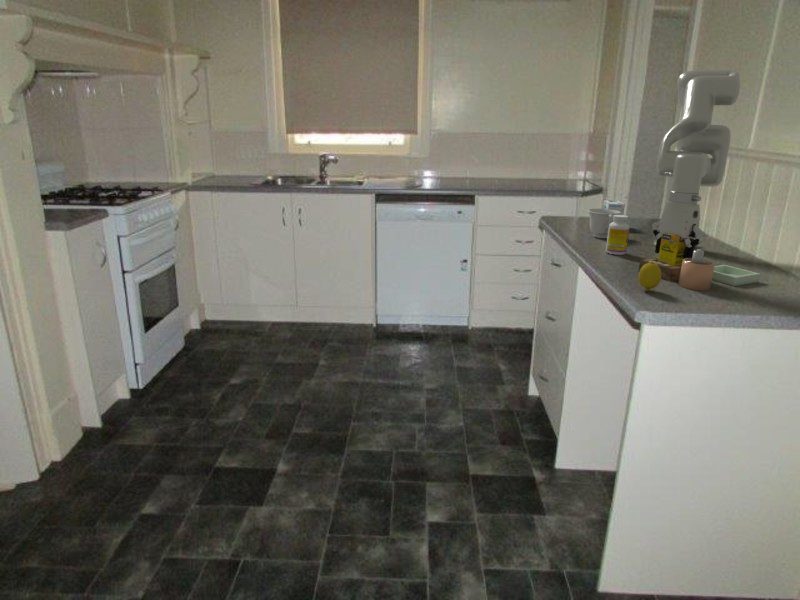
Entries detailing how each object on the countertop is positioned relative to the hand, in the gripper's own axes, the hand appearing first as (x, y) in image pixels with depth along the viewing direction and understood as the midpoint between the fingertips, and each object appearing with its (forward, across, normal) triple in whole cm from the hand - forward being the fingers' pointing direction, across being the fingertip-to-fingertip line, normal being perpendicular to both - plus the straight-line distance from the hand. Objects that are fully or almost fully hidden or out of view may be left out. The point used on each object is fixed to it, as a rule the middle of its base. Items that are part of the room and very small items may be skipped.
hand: (672, 256), depth 169 cm
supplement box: (+4, 0, 0) cm, 5 cm away
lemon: (+6, -10, +21) cm, 24 cm away
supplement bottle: (+6, +26, -5) cm, 27 cm away
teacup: (+6, +48, -21) cm, 53 cm away
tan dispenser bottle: (+5, -12, +5) cm, 14 cm away
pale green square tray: (+5, -11, -11) cm, 16 cm away
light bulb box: (+6, +63, -41) cm, 75 cm away
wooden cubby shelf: (+5, 0, 0) cm, 5 cm away
